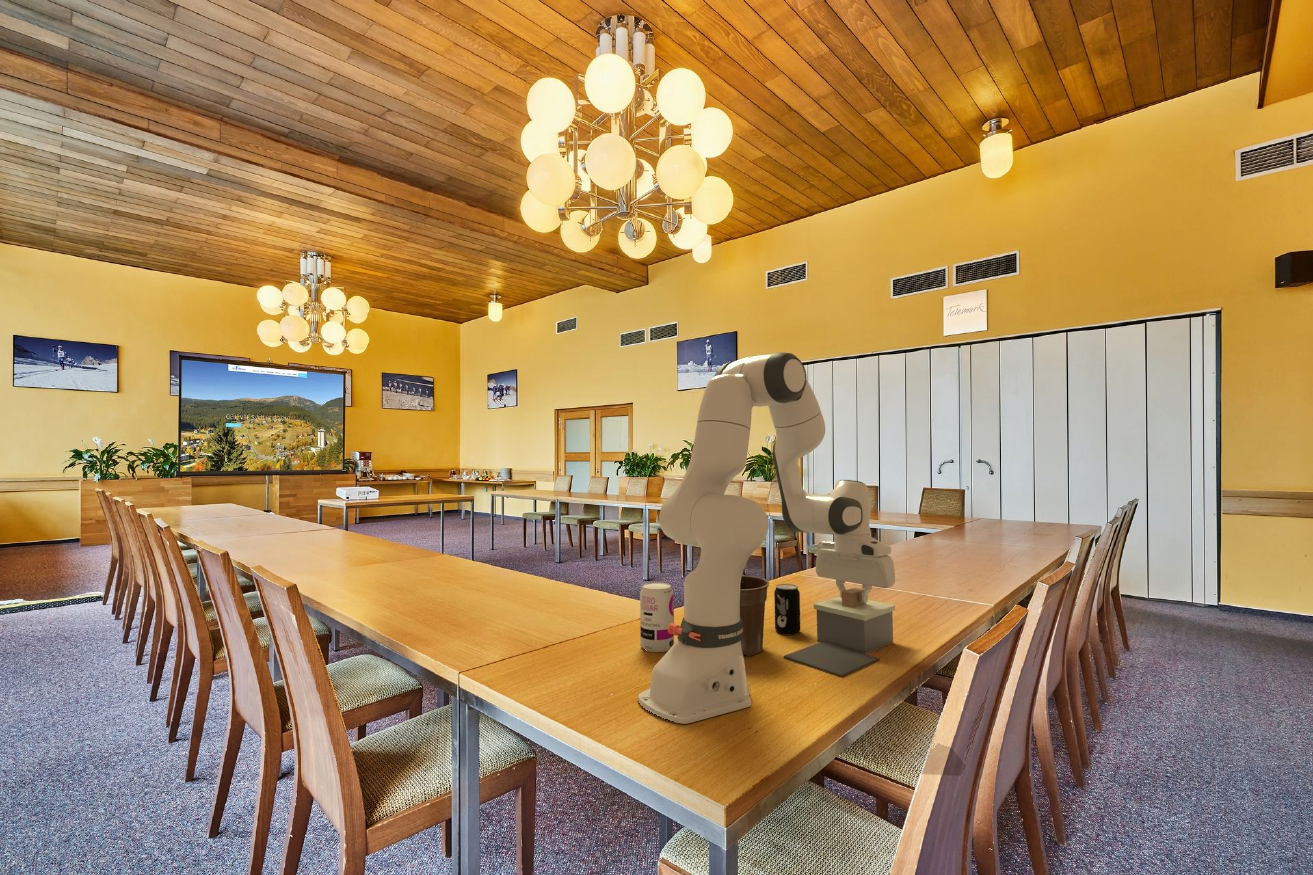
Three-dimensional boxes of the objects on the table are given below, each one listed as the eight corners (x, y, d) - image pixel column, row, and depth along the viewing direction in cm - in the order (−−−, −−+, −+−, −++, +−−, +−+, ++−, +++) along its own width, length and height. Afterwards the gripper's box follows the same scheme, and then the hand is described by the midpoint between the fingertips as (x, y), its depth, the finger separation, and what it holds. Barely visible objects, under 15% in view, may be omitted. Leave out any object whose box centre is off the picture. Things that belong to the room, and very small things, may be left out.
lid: (865, 625, 130) (864, 600, 130) (813, 612, 140) (813, 589, 141) (895, 614, 138) (894, 590, 139) (844, 603, 149) (844, 581, 149)
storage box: (865, 654, 130) (864, 619, 130) (817, 640, 140) (816, 608, 140) (893, 642, 138) (892, 609, 139) (846, 630, 148) (845, 600, 149)
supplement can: (675, 642, 140) (674, 582, 140) (672, 653, 132) (672, 589, 132) (643, 641, 141) (642, 581, 141) (638, 653, 132) (638, 589, 133)
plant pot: (691, 653, 132) (691, 585, 132) (717, 634, 146) (716, 572, 147) (758, 665, 124) (757, 592, 125) (778, 643, 138) (777, 578, 139)
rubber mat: (841, 677, 117) (841, 674, 117) (783, 657, 128) (783, 655, 128) (878, 660, 126) (878, 658, 126) (821, 643, 138) (821, 641, 138)
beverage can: (803, 635, 144) (802, 588, 145) (777, 635, 144) (776, 589, 145) (797, 627, 151) (796, 583, 151) (772, 628, 151) (772, 583, 152)
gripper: (810, 541, 146) (811, 594, 146) (884, 550, 130) (885, 610, 130) (824, 538, 150) (825, 590, 150) (897, 547, 134) (899, 605, 134)
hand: (853, 600), depth 140 cm, fingers open, 4 cm apart
